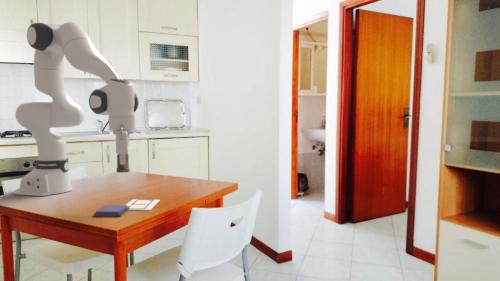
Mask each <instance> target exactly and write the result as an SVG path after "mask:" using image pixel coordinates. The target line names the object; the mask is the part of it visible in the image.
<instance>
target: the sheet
mask: <svg viewBox="0 0 500 281" xmlns="http://www.w3.org/2000/svg"><path fill="white" fill-rule="evenodd" d="M160 201H161V199H141V198H140V199H136V198H135V199H131V200H130V201H129V202H127V203H126V204H125V205H127V206H129V209H128V211H151V210H152V209H153V208H154V207H155V206H156V205H157V204H158V203H159V202H160Z"/></svg>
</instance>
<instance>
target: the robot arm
mask: <svg viewBox="0 0 500 281" xmlns="http://www.w3.org/2000/svg"><path fill="white" fill-rule="evenodd" d="M26 40H27V42H28V45H30V47H31V48H32V49H34V50H35V51H34V56H33V76H34V78H33V80H34V87H35V89H36V90H37V91H39V92H41V93H43V94H45V95H46V96H49V97H51V99H52V101H51V102H49V101H48V102H46V101H39V102H38V101H32V102H26V103H24V102H23V103H21V104H19V105H18V106H17V108H16V109H15V120H16V121H17V123H18V124H19V125H20V126H22V128H25V129H26V130H27V131H28V132H29V133H30V134H31V135H32V136H33V138H34V140H35V142H36V148H37V154H38V155H37V157H38V159H37V160H35V161H33V162H32V165H31V166H34V168H33V169H32V170H31V171H29V172H28V173H27V174H26V175H24V176H23V177H22V178H21V179H20V183H19V188H17V189H14V191H13V195H22V196H24V195H25V196H38V197H39V196H40V197H44V196H45V197H46V196H49V195H50V196H51V195H56V194H63V193H64V194H65V193H68V192H70V191H72V190H73V186H72V183H71V181H70V179H71V178H70V175H69V171H70V170H69V169H70V168H69V158H68V149H67V148H68V145H67V144H68V143H67V141H66V139H64V138H63V137H61V136H59V135H56V134H54V133H52V132H51V131H50V129H52V128H72V127H73V128H74V127H77V126H80V125H81V124H82V123H83V121H84V120H85V119H84V118H85V112H84V109H83V108H82V106H81V105H80V104H78V103H77V102H76V101H74V100H73V99H72V98H71V97H70V95H69V93H68V91H67V88H66V85H65V84H66V82H65V71H64V70H65V69H64V58H65V59H66V60H67V62H68V64H70V65H71V66H72V67H73V68H75V69H76V70H79V71H81V72H85V73H88V74H91V75H94V76H96V77H99V78H100V79H102V81H104V82H105V83H106V85H104V86H102V87H100V88H98V89H94V90H93V91H92V92H91V93H90V95H89V99H88V103H89V104H88V106H89V108H90V109H91V111H92V112H93V113H94V114H96V115H99V116H108V130H109V131H112V135H114V136H115V152H116V155H118V154H119V157H120V164H121V165H124V164H125V157H126V153H127V152H128V153H129V144H130V135H132V131H135V129H136V115H135V113H136V111H137V109H138V108H139V102H140V101H139V98H138V96H137V94H136V93H135V90H134V85H133V83H132V82H131V81H130V80H126V79H123V78H122V77H121V75H120V74H119V73H118V71H117V70H116V68H114V66H113V65H112V63H111V62H110V61H109V60H108V59H106V57H104V56H103V55H102V54H101V53H100V52H99V51H98V49H97V48H96V47H95V45H94V44H93V43H92V40H91V38H90V37H89V35H88V34H87V33H86V31H85V30H84V29H83V28H82V27H81V25H79V24H78V23H75V22H71V21H70V22H69V21H68V22H65V23H63V24H49V23H43V22H33V23H31V24H30V25H29V26H28V28H27V32H26Z"/></svg>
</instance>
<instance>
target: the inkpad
mask: <svg viewBox="0 0 500 281" xmlns="http://www.w3.org/2000/svg"><path fill="white" fill-rule="evenodd" d="M128 209H129V206H127V205H126V204H125V205H124V204H105V205H103V206H101V208H99V209H97V210H96V211H95V212H94V213H93V217H98V218H99V217H103V218H104V217H108V218H109V217H116V218H117V217H118V218H119V217H122V216H124V214H125V213H127V211H129V210H128Z"/></svg>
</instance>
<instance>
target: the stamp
mask: <svg viewBox="0 0 500 281" xmlns="http://www.w3.org/2000/svg"><path fill="white" fill-rule="evenodd" d="M128 153H129V151H128V152H127V153H126V157H125V164H124V165H121V164H120V157H119V154H116V173H119V174H120V173H129V172H130V170H131V169H130V167H129V166H130V165H129V159H130V158H129V154H128Z"/></svg>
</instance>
